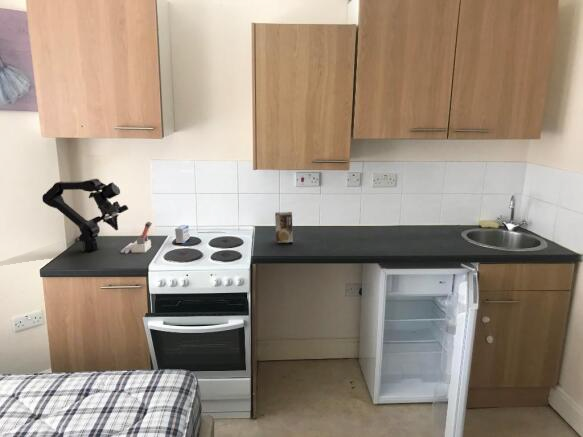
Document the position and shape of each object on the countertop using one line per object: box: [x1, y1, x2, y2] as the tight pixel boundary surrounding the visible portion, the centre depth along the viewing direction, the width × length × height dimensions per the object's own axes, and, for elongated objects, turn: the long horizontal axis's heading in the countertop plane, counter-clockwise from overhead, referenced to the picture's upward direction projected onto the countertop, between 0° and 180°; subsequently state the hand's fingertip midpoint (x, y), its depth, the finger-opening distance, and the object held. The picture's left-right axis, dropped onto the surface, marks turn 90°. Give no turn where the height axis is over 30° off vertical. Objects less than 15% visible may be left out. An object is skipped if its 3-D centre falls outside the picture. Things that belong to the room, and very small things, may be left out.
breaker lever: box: [141, 221, 153, 239], centre depth 232 cm, size 2×3×10 cm, turn 0°
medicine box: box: [174, 224, 190, 244], centre depth 245 cm, size 8×4×9 cm, turn 168°
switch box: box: [131, 234, 152, 253], centre depth 233 cm, size 7×9×7 cm
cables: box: [120, 242, 134, 255], centre depth 234 cm, size 15×4×2 cm, turn 178°
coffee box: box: [274, 211, 294, 243], centre depth 240 cm, size 9×6×16 cm
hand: (117, 230), depth 229 cm, fingers closed
